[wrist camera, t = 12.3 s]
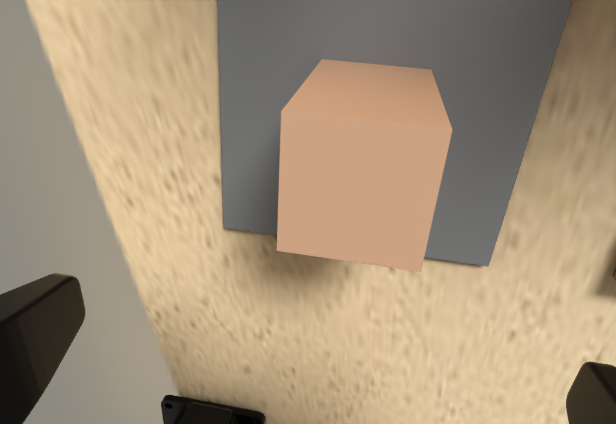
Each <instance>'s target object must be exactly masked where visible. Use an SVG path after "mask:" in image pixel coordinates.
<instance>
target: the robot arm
mask: <svg viewBox="0 0 616 424" xmlns="http://www.w3.org/2000/svg"><path fill="white" fill-rule="evenodd" d="M84 318H85V306H84V301H83V297H82V292H81V287H80V283H79V281H78V279H77V278H76V277H74V276H71V275H64V274H59V273H58V274H57V273H55V274H50V275H48V276H46V277H43V278H40V279H38V280H36V281H33V282H31V283H28V284H26V285H23V286H21V287H18V288H16V289H13V290H11V291H8V292H6V293H3V294H1V295H0V424H23V422H24V421H25V419H26V418H27V417H28V415H29V414H30V412H31V411H32V409H33V408H34V406H35V405H36V403H37V402H38V400H39V399H40V397H41V396H42V394H43V393H44V391H45V389H46V387H47V386H48V384H49V382H50V381H51V379H52V377H53V375H54V374H55V372H56V370H57V368H58V366H59V365H60V363H61V361H62V359H63V357H64V356H65V354H66V352H67V350H68V349H69V347H70V345H71V343H72V341H73V339H74V338H75V336H76V334H77V332H78V331H79V329H80V327H81V325H82V323H83V321H84ZM161 407H162V414H163V422H164V424H266V418H265V416H264V414H262V413H260V412H257V411H251V410H246V409H241V408H236V407H231V406H225V405H220V404H215V403H210V402H205V401H199V400H194V399H189V398H184V397H179V396H173V395H166V396H165V397H164V399H163V401H162V402H161ZM566 409H567V415H568V420H569V424H616V367H614V366H612V365H608V364H602V363H596V362H586V363H584V364H583V365H582V367H581V368H580V370H579V372H578V374H577V376H576V378H575V380H574V382H573V384H572V386H571V388H570V390H569V392H568V395H567V399H566Z"/></svg>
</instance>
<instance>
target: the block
mask: <svg viewBox="0 0 616 424" xmlns="http://www.w3.org/2000/svg"><path fill="white" fill-rule="evenodd" d="M451 134H452V127H451V124H450V121H449V119H448V116H447V113H446V110H445V107H444V104H443V102H442V99H441V96H440V93H439V90H438V87H437V84H436V82H435V79H434V76H433V73H432V70H431V69H421V68H410V67H399V66H389V65H378V64H367V63H357V62H346V61H336V60H325V59H322V60H321V61H320V62H319V64H318V65H317V66H316V68H315V69H314V70H313V71H312V73H311V74H310V75H309V76H308V78H307V79H306V80H305V82H304V83H303V84H302V85H301V87H300V88H299V89H298V90H297V92H296V93H295V94H294V96H293V97H292V98H291V99H290V101H289V102H288V103H287V104H286V106H285V107H284V108H283V110H282V111H281V133H280V164H279V195H278V226H277V251H282V252H288V253H295V254H302V255H309V256H316V257H323V258H330V259H336V260H343V261H350V262H357V263H364V264H371V265H378V266H385V267H391V268H398V269H405V270H412V271H419V272H421V269H422V265H423V260H424V256H425V251H426V247H427V242H428V238H429V233H430V229H431V224H432V220H433V215H434V211H435V206H436V202H437V197H438V193H439V188H440V184H441V179H442V175H443V170H444V166H445V161H446V157H447V152H448V148H449V143H450V139H451Z"/></svg>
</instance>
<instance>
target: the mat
mask: <svg viewBox="0 0 616 424" xmlns="http://www.w3.org/2000/svg"><path fill="white" fill-rule="evenodd" d="M571 3H572V0H217V6H218V41H219V77H220V113H221V149H222V185H223V220H224V228H229V229H236V230H242V231H249V232H256V233H263V234H270V235H277V226H278V195H279V164H280V133H281V111H282V110H283V108H284V107H285V106H286V104H287V103H288V102H289V101H290V99H291V98H292V97H293V96H294V94H295V93H296V92H297V90H298V89H299V88H300V87H301V85H302V84H303V83H304V82H305V80H306V79H307V78H308V76H309V75H310V74H311V73H312V71H313V70H314V69H315V68H316V66H317V65H318V64H319V62H320V61H321V60H322V59H325V60H336V61H346V62H357V63H367V64H378V65H389V66H399V67H410V68H421V69H431V70H432V73H433V76H434V79H435V82H436V84H437V87H438V90H439V93H440V96H441V99H442V102H443V104H444V107H445V110H446V113H447V116H448V119H449V121H450V124H451V127H452V134H451V139H450V143H449V148H448V152H447V157H446V161H445V166H444V170H443V175H442V179H441V184H440V188H439V193H438V197H437V202H436V206H435V211H434V215H433V220H432V224H431V229H430V233H429V238H428V242H427V247H426V251H425V256H424V257H427V258H434V259H441V260H447V261H454V262H461V263H468V264H475V265H482V266H489V263H490V260H491V257H492V253H493V250H494V247H495V244H496V241H497V238H498V234H499V231H500V228H501V225H502V222H503V219H504V215H505V212H506V209H507V206H508V203H509V200H510V196H511V193H512V190H513V187H514V184H515V180H516V177H517V174H518V171H519V168H520V165H521V161H522V158H523V155H524V152H525V149H526V146H527V142H528V139H529V136H530V133H531V130H532V127H533V123H534V120H535V117H536V114H537V111H538V108H539V104H540V101H541V98H542V95H543V92H544V89H545V85H546V82H547V79H548V76H549V73H550V69H551V66H552V63H553V60H554V57H555V54H556V50H557V47H558V44H559V41H560V38H561V35H562V31H563V28H564V25H565V22H566V19H567V16H568V12H569V9H570V6H571Z"/></svg>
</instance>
